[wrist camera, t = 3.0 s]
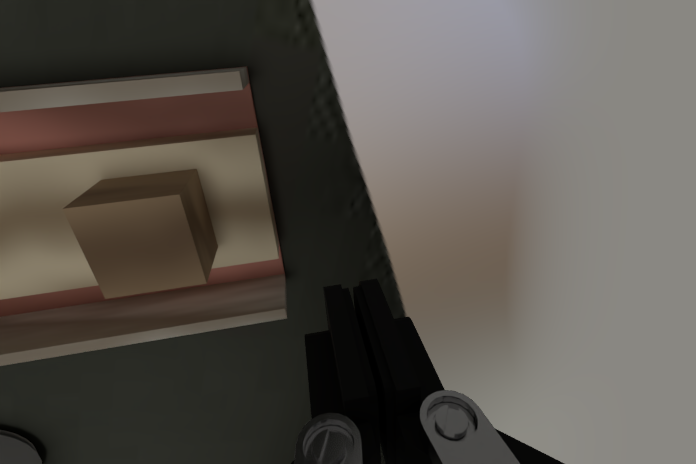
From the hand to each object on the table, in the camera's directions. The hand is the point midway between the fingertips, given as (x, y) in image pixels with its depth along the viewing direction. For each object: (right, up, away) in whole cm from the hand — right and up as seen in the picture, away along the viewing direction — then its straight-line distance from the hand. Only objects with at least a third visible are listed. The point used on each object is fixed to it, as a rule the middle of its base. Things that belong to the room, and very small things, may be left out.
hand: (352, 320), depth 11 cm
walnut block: (-11, +4, +10) cm, 15 cm away
